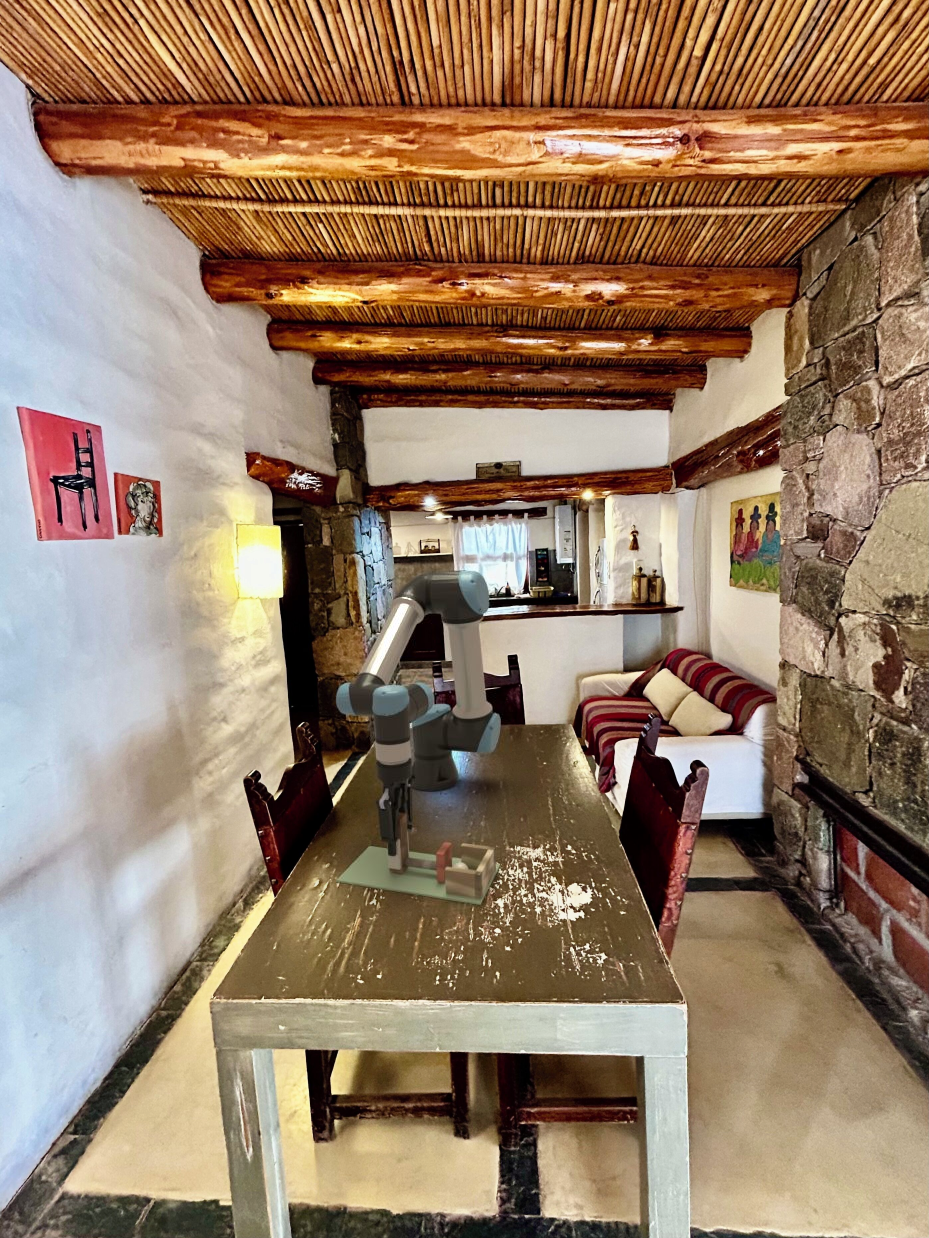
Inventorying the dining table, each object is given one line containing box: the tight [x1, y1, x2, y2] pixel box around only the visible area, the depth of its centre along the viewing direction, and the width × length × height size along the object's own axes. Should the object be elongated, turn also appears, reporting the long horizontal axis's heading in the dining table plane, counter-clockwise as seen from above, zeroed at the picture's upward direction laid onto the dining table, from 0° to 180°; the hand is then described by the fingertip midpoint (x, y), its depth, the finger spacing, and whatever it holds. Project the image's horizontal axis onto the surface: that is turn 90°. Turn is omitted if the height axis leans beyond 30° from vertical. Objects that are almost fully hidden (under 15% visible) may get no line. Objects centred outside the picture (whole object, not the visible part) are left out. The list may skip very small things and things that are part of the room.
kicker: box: [389, 812, 453, 882], centre depth 125 cm, size 5×13×12 cm, turn 72°
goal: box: [445, 842, 497, 899], centre depth 122 cm, size 11×7×5 cm, turn 162°
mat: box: [336, 845, 501, 906], centre depth 126 cm, size 15×32×1 cm, turn 72°
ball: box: [453, 862, 468, 870], centre depth 123 cm, size 4×4×4 cm
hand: (399, 862), depth 127 cm, fingers closed on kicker, 3 cm apart
